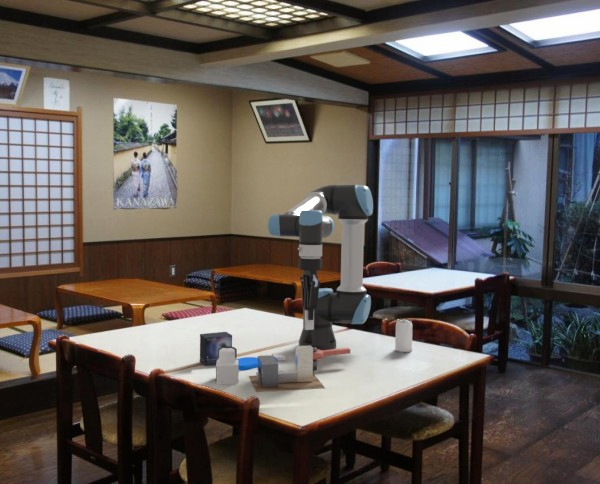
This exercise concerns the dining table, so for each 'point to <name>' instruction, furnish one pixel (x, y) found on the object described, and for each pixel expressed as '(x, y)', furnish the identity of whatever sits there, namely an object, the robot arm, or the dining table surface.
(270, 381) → the grey block
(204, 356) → the small box
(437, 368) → the dining table surface
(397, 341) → the can
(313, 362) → the post
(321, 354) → the red t-shaped bar
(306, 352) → the l-shaped bracket
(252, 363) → the spray bottle
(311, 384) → the walnut board
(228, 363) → the medicine bottle
